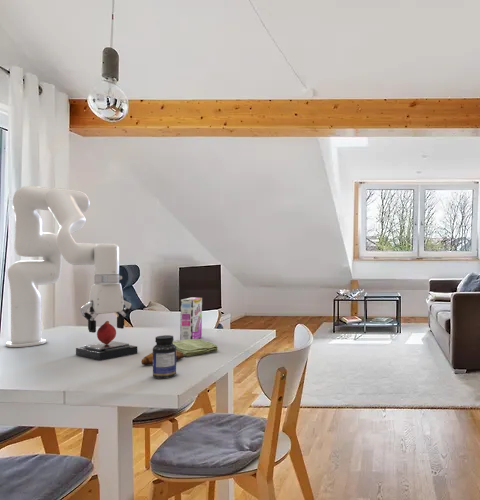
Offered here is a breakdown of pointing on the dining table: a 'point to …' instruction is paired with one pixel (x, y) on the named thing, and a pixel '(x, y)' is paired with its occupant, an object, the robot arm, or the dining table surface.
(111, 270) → the robot arm
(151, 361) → the croissant
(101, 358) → the scale
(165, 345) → the pill bottle
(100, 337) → the onion
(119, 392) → the dining table surface
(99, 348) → the scale pan
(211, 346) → the washcloth
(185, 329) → the candy bar box
